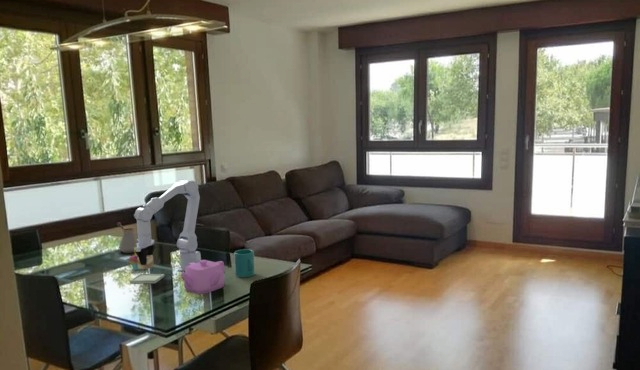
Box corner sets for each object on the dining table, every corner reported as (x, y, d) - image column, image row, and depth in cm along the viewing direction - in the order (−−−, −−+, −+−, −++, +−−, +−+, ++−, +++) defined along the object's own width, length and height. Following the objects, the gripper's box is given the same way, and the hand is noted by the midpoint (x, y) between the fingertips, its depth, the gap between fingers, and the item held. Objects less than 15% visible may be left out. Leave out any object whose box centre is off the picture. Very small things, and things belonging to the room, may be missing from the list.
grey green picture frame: (164, 276, 222) (164, 274, 222) (155, 283, 212) (155, 281, 212) (140, 276, 223) (140, 273, 223) (129, 283, 214) (129, 280, 213)
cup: (245, 281, 213) (243, 256, 212) (231, 275, 222) (230, 251, 221) (261, 276, 219) (261, 253, 217) (248, 270, 228) (247, 248, 226)
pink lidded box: (226, 280, 214) (224, 254, 212) (222, 293, 197) (221, 265, 196) (187, 283, 212) (186, 256, 210) (181, 296, 195) (179, 267, 194)
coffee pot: (143, 251, 270) (141, 225, 268) (123, 255, 262) (121, 228, 261) (129, 244, 286) (128, 220, 284) (110, 248, 278) (108, 223, 276)
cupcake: (141, 271, 231) (139, 247, 229) (125, 270, 233) (123, 247, 231) (150, 266, 239) (149, 243, 238) (135, 265, 241) (133, 242, 240)
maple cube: (153, 265, 219) (152, 254, 219) (148, 268, 214) (147, 257, 214) (143, 265, 220) (142, 255, 219) (138, 268, 215) (137, 257, 214)
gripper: (143, 230, 223) (145, 258, 224) (128, 237, 209) (130, 267, 210) (157, 230, 222) (159, 258, 224) (143, 237, 208) (145, 267, 209)
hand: (146, 262), depth 217 cm, fingers closed on maple cube, 5 cm apart
